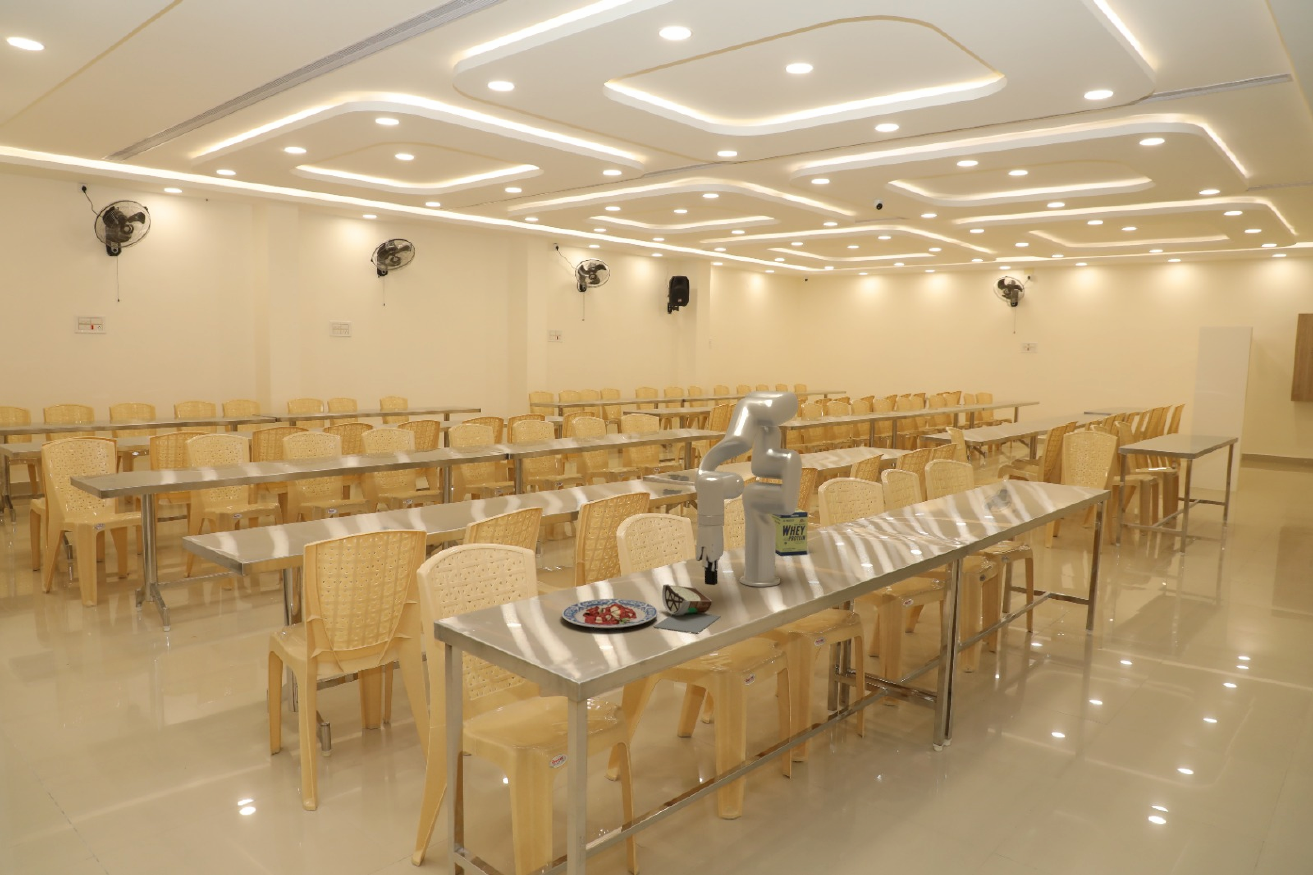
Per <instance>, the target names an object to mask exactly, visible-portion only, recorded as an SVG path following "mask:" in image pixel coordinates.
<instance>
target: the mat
mask: <svg viewBox="0 0 1313 875" xmlns="http://www.w3.org/2000/svg"><path fill="white" fill-rule="evenodd" d="M720 618H721V616H720V615H715V614H707V613H684V614H683V615H681V616H676V615H673V614H670V615H669V616H668V617H666V618H664V619H663V620H661V621H660V622H658V623H656V624H654V626H653V627H654V629H659V628H661V629H662V630H666V629H668V631H673V630H674V631H675V632H681V633H687V632H691V633H690V634H694V633H698V632H700V633H701V632H703V631H704V630H705V629H706V628H708V627H709V626H710V624H711V623H712V624H713V623H715V622H716V621H718V620H719V619H720ZM712 624H711V625H712ZM703 629H704V630H703ZM698 634H699V633H698Z"/></svg>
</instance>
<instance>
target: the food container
mask: <svg viewBox="0 0 1313 875" xmlns="http://www.w3.org/2000/svg"><path fill="white" fill-rule="evenodd" d="M661 593H662V597H661V598H662V603H663V606H664V608H665V610H666V611H667V612H668V613H669V614H670V615H672V614H673V615H676V616H681V615H683V614H684V613H701V614H705V613H706V612H707V611H709V609H710V608H711V607H712V604H713V600H711V599H710V597H707V596H706V595H705V594H704V593H702V592H701V591H700V590H698V588H696V587H690V586H678V585H671V584H663V585H662V592H661Z"/></svg>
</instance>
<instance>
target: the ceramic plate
mask: <svg viewBox="0 0 1313 875" xmlns="http://www.w3.org/2000/svg"><path fill="white" fill-rule="evenodd" d="M658 612H659V611H658V609H657V608H656V607H655V606H654V605H651V604H649V603H646V602H644V601H639V600H635V599H628V598H627V599H626V598H600V599H599V598H598V599H591V600H585V601H581V602H576V603H574V604H571V605H569V606H566V608H564V609H563V610H562V612H561V617H562V618H563V619H564V620H566V621H567V622H569V623H571V624H573V625H578V626H582V627H587V628H588V627H589V628H593V627H594V628H593V629H607V630H609V629H613V630H614V629H624V628H628V627H632V626H637V625H638V626H639V625H642V624H644V623H647V622H650V621H652V620H654V619H655V618H656V617H657V616H658Z"/></svg>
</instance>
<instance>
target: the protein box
mask: <svg viewBox="0 0 1313 875" xmlns="http://www.w3.org/2000/svg"><path fill="white" fill-rule="evenodd" d="M770 516H771V518H772V519H773V521H774V524H775V528H776V538H775V555H778V556H780V557H784V556H785V557H788V556H806V555H808V512H807V511H805V510H803V509H799V507H797V509H796V511H795V512H794V513H793V514H791V515H778V514H770Z"/></svg>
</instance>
